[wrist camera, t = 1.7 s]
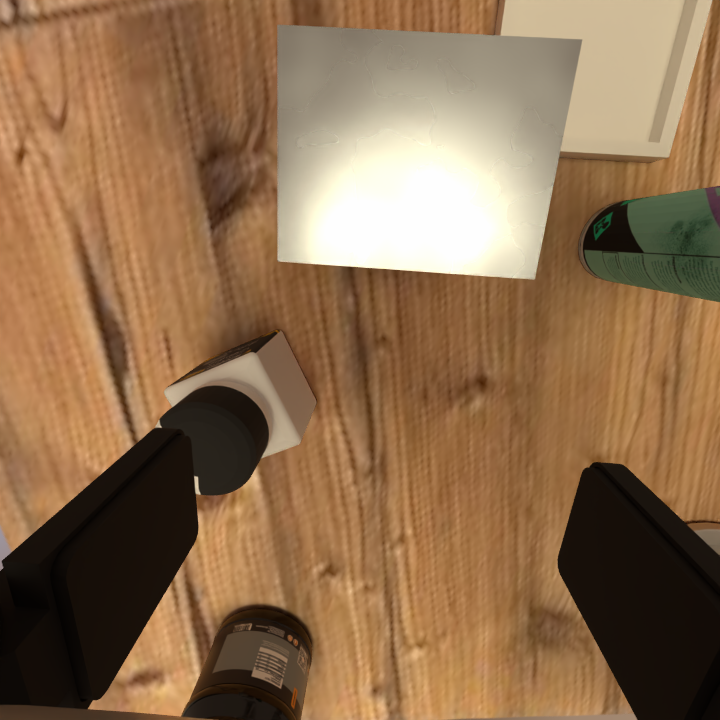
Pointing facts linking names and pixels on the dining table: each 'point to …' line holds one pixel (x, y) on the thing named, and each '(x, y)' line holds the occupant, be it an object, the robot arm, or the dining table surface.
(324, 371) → the dining table surface
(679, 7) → the dish
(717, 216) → the spray can
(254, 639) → the supplement container
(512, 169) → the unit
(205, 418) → the medicine bottle
